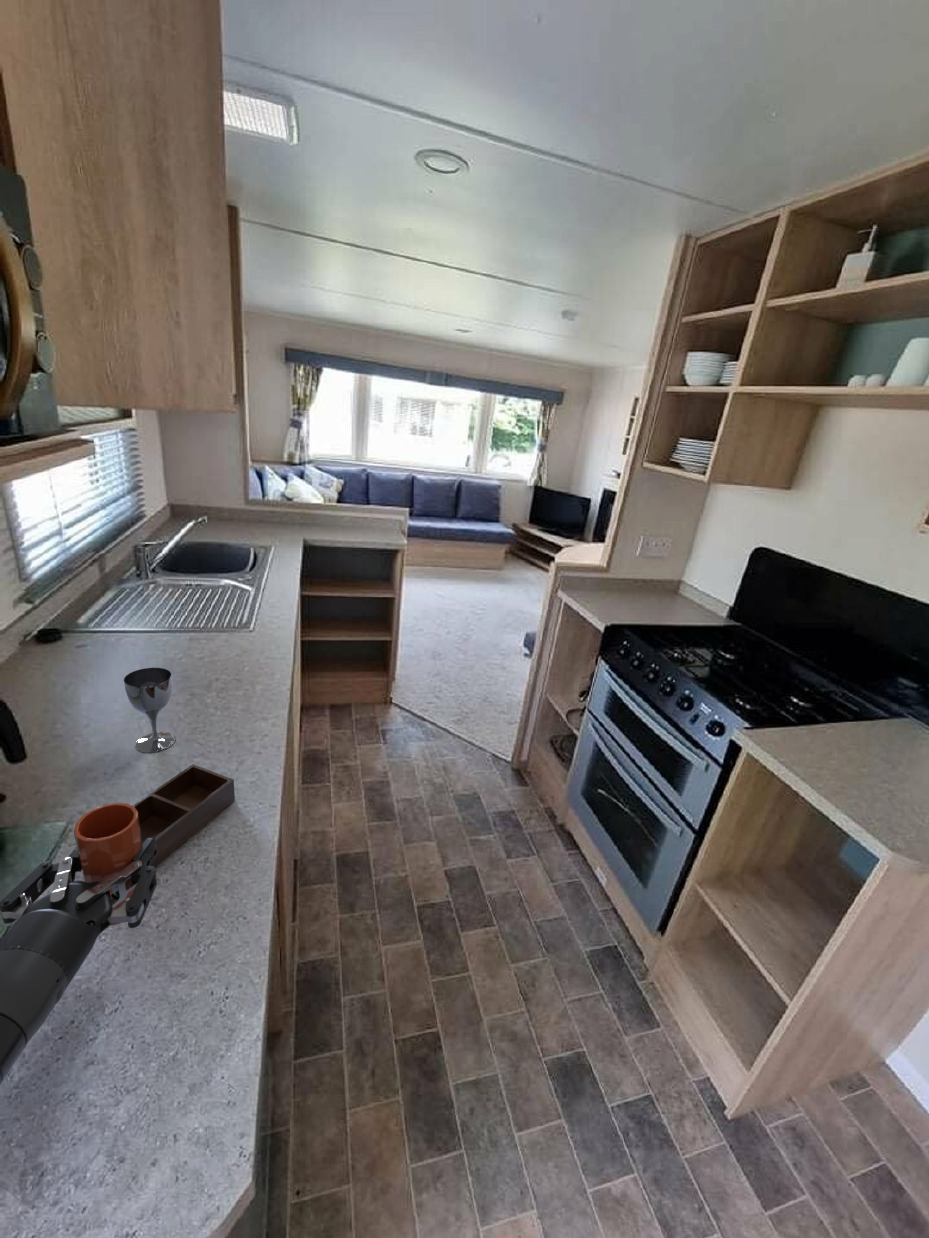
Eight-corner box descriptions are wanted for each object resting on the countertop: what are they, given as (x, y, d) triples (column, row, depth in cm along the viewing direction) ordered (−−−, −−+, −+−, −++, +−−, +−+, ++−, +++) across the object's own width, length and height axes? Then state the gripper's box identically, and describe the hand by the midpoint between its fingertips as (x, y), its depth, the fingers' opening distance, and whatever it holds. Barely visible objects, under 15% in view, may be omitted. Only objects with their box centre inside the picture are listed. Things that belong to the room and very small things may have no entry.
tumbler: (77, 913, 62) (60, 829, 57) (124, 876, 67) (112, 796, 63) (114, 933, 60) (100, 848, 55) (159, 894, 65) (149, 813, 61)
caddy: (101, 852, 79) (97, 829, 77) (194, 784, 95) (192, 763, 93) (146, 873, 76) (143, 850, 75) (235, 800, 92) (233, 779, 91)
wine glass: (168, 726, 110) (161, 663, 105) (184, 743, 105) (178, 678, 100) (126, 740, 104) (117, 674, 99) (141, 759, 100) (132, 691, 94)
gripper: (98, 954, 47) (182, 820, 63) (-73, 949, 46) (56, 814, 61) (108, 1008, 50) (187, 867, 65) (-53, 1005, 48) (66, 861, 64)
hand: (123, 842), depth 63 cm, fingers closed on tumbler, 6 cm apart
